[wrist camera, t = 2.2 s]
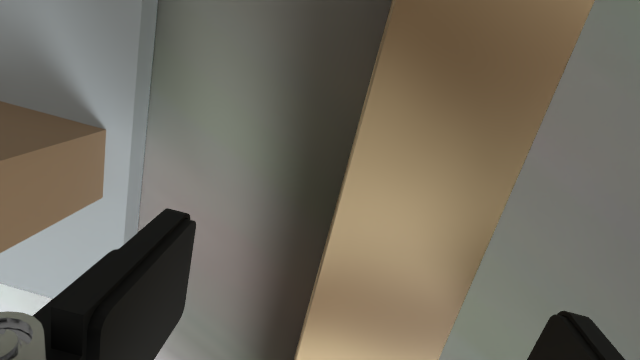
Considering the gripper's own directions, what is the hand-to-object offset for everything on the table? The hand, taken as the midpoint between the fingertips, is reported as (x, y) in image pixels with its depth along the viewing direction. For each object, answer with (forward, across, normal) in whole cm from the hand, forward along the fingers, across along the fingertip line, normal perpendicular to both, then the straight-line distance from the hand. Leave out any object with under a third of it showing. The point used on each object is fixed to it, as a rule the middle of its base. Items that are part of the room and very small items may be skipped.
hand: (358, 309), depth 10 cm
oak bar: (+6, -1, 0) cm, 6 cm away
